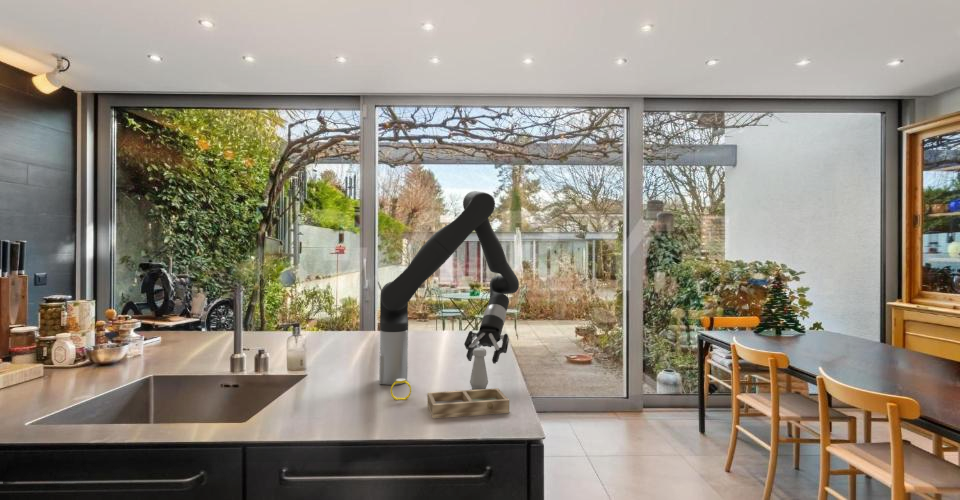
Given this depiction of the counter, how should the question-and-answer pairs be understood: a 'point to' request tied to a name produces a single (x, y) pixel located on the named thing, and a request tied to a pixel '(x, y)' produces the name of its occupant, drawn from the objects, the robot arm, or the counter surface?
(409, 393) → the watch
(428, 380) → the counter surface
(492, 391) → the tray
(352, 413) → the counter surface
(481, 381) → the salt shaker
